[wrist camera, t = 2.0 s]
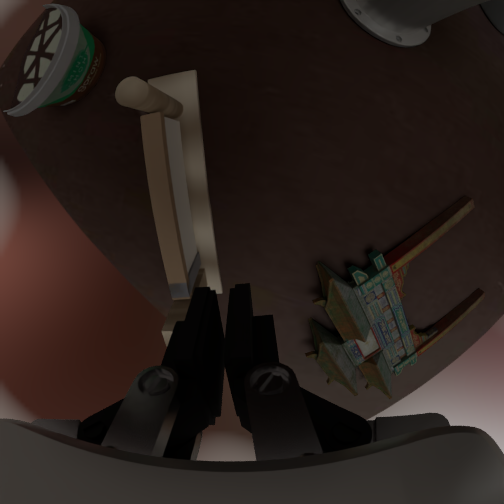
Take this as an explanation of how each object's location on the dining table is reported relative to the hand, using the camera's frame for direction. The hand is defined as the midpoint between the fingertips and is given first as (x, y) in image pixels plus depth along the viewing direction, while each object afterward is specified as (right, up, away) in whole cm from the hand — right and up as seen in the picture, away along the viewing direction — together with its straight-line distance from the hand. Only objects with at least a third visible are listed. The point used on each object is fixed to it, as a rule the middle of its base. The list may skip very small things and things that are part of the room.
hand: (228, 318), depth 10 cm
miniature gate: (+22, -4, +24) cm, 33 cm away
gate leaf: (-6, +8, +16) cm, 19 cm away
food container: (-17, +23, +11) cm, 31 cm away
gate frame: (-6, +9, +17) cm, 20 cm away
